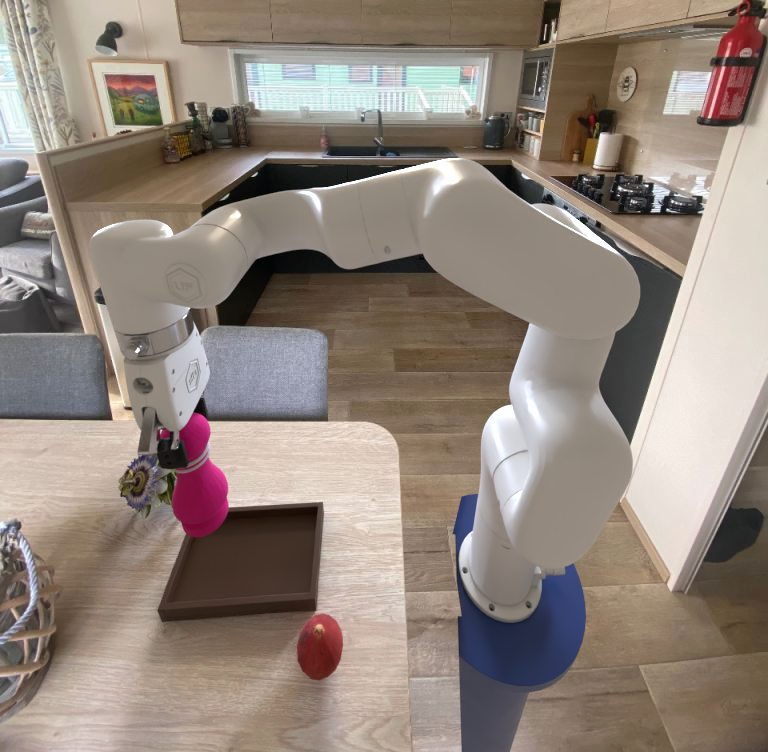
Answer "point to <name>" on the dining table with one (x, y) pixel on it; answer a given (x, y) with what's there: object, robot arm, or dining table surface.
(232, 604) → the tray
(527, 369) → the robot arm
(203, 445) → the pepper mill
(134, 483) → the passion flower
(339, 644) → the onion
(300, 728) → the dining table surface
